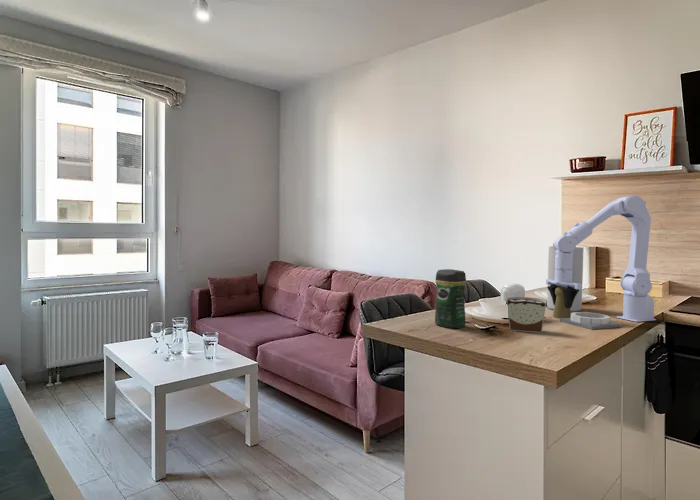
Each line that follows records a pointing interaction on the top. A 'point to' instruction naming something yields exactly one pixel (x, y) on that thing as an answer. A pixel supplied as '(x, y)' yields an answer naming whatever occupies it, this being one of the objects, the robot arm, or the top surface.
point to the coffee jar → (450, 298)
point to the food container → (526, 314)
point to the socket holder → (590, 320)
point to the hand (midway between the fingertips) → (562, 306)
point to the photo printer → (512, 291)
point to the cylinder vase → (576, 276)
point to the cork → (561, 305)
